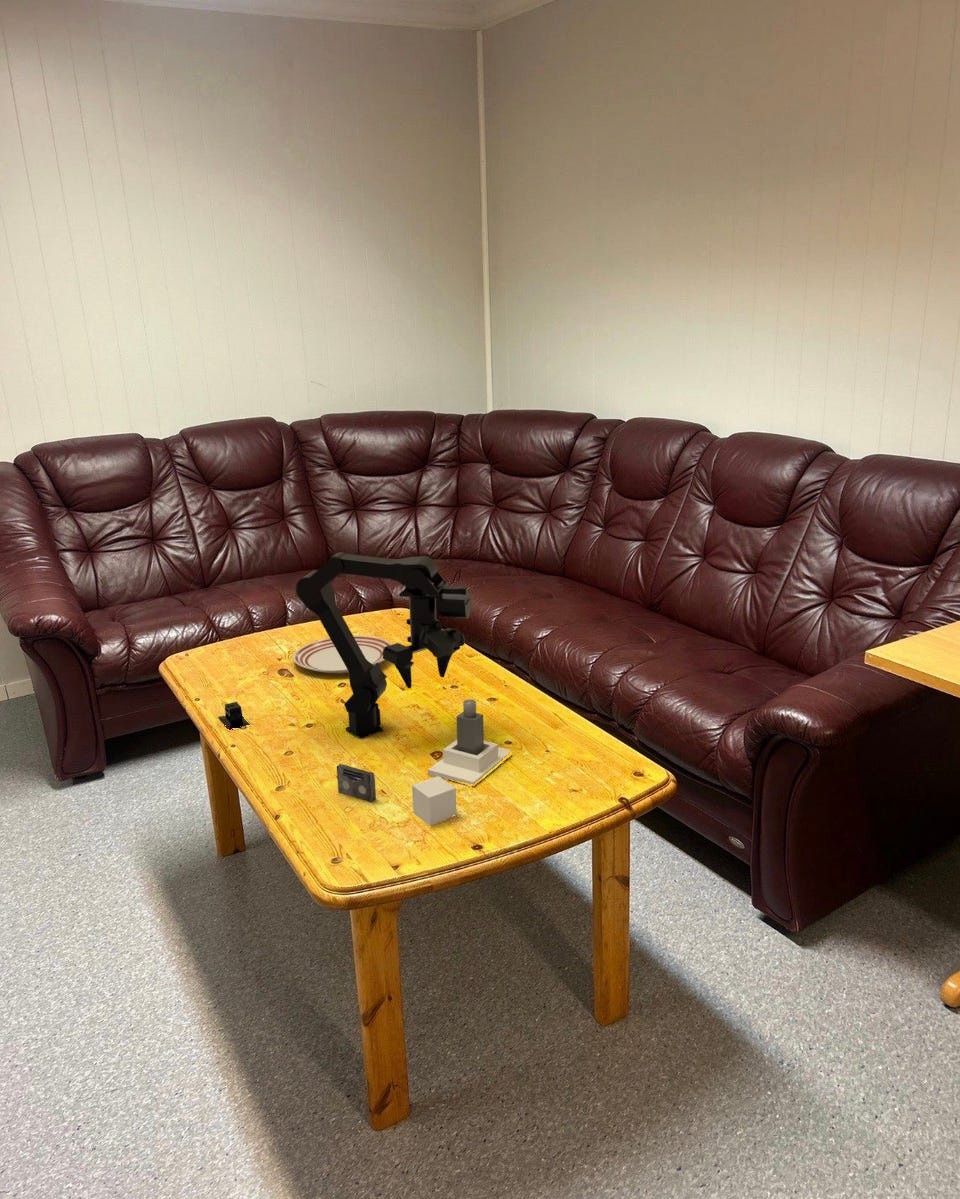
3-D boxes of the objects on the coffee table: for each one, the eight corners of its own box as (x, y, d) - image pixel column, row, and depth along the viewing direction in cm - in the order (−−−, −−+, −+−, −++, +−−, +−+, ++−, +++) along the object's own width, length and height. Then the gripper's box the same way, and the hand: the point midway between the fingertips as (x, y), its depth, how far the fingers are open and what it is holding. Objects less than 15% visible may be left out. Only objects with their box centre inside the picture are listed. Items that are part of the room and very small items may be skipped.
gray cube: (439, 803, 181) (438, 775, 179) (456, 816, 176) (455, 788, 175) (413, 813, 178) (411, 785, 176) (430, 826, 173) (429, 797, 171)
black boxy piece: (212, 717, 223) (210, 699, 221) (242, 710, 226) (240, 693, 225) (227, 736, 213) (225, 718, 211) (258, 729, 216) (256, 711, 215)
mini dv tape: (376, 799, 183) (374, 772, 181) (371, 802, 182) (369, 775, 180) (343, 789, 187) (341, 762, 185) (338, 792, 186) (336, 765, 184)
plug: (457, 759, 195) (456, 702, 191) (466, 753, 198) (464, 697, 194) (475, 764, 193) (474, 707, 189) (484, 758, 196) (482, 701, 192)
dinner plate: (275, 675, 247) (274, 664, 246) (320, 641, 272) (319, 630, 271) (371, 685, 239) (370, 673, 238) (408, 648, 265) (407, 638, 264)
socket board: (428, 774, 192) (427, 756, 191) (468, 744, 205) (468, 727, 204) (473, 787, 186) (472, 768, 185) (512, 755, 200) (512, 737, 198)
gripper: (410, 634, 190) (413, 704, 194) (479, 614, 201) (481, 681, 206) (379, 621, 198) (383, 689, 202) (447, 603, 209) (449, 667, 214)
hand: (425, 682), depth 206 cm, fingers open, 9 cm apart
